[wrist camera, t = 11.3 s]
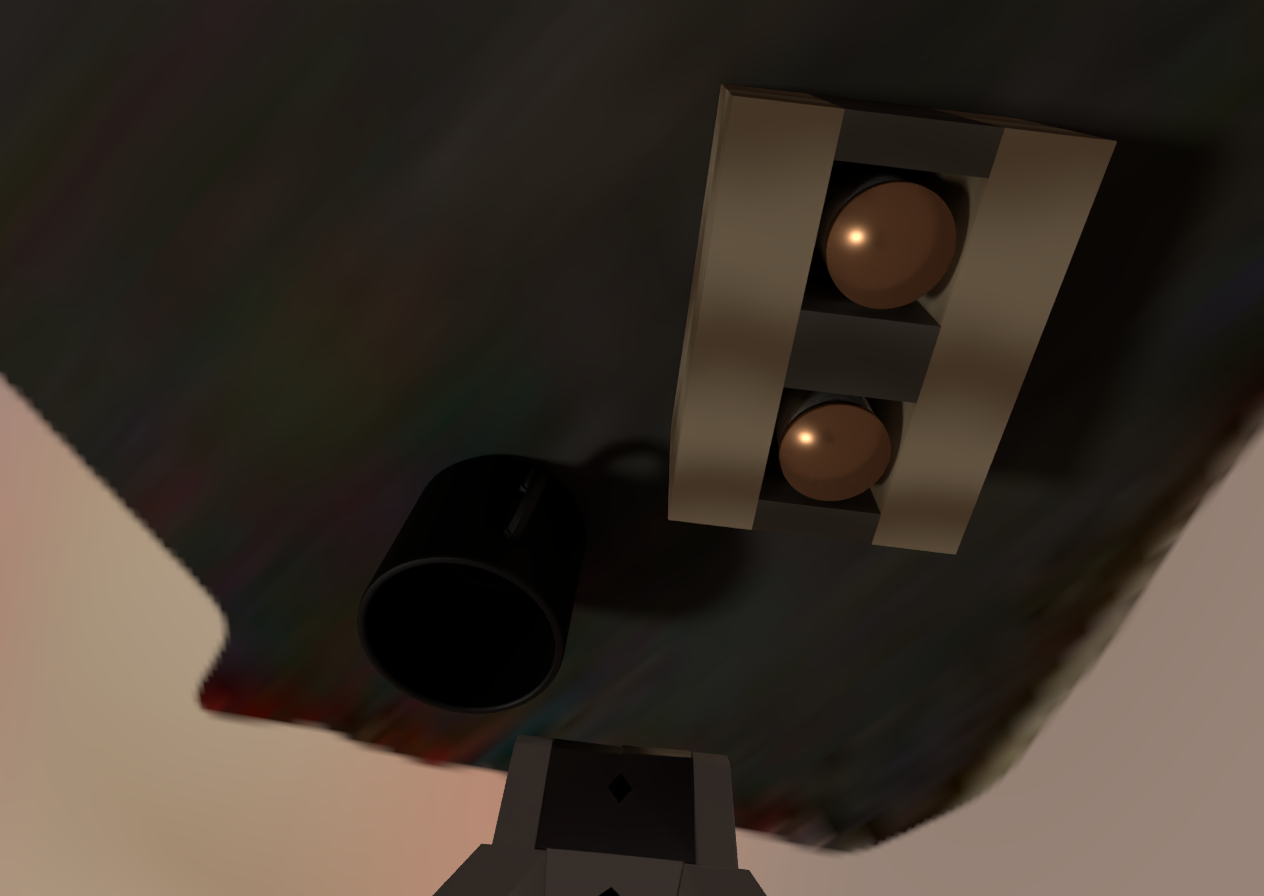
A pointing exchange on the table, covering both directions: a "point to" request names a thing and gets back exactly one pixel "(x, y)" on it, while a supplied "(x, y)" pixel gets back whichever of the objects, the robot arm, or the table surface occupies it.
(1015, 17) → the table surface
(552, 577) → the mug
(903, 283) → the copper domed cylinder
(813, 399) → the cylinder
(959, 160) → the oak block
